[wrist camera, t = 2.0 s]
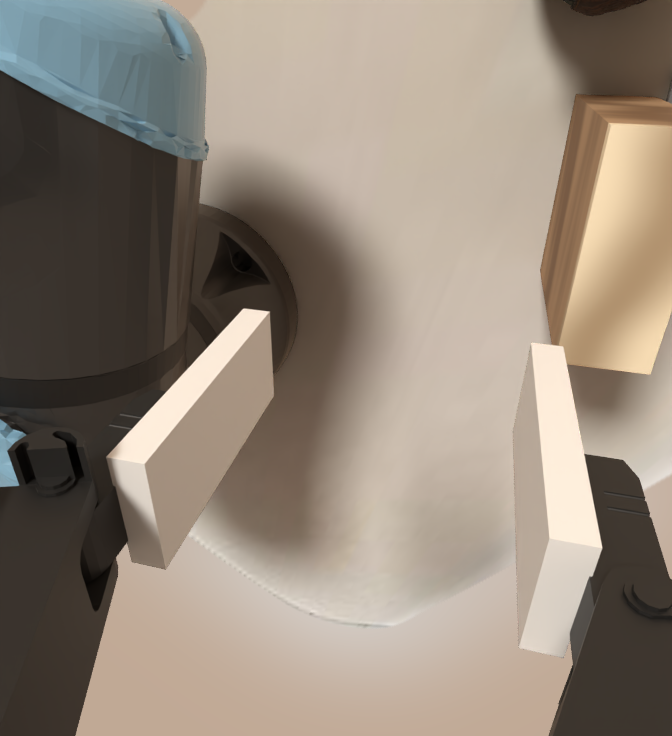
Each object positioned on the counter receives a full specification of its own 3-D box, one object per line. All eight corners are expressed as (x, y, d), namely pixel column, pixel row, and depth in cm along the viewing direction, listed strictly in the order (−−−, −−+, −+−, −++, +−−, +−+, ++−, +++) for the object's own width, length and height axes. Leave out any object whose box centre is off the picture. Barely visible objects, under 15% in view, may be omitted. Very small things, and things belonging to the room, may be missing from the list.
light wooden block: (540, 270, 36) (554, 362, 26) (576, 94, 31) (611, 125, 21) (608, 276, 35) (650, 374, 25) (656, 97, 30) (733, 130, 20)
